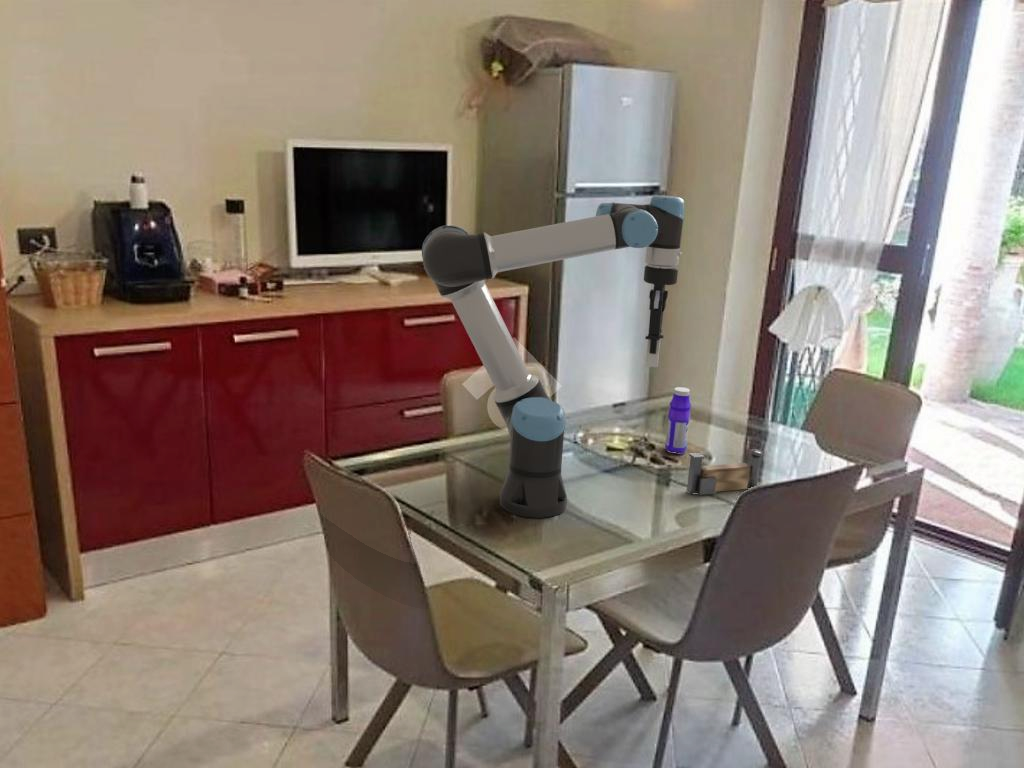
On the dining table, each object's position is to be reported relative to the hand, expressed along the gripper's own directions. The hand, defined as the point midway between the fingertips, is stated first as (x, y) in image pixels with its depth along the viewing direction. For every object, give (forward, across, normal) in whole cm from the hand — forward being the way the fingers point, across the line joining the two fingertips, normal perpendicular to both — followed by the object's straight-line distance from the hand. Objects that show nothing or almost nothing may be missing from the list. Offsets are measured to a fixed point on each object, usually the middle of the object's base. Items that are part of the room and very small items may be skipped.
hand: (651, 365), depth 209 cm
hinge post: (+29, +6, -26) cm, 40 cm away
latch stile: (+29, -2, -14) cm, 33 cm away
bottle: (+30, +26, -7) cm, 40 cm away
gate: (+29, +2, -19) cm, 35 cm away
